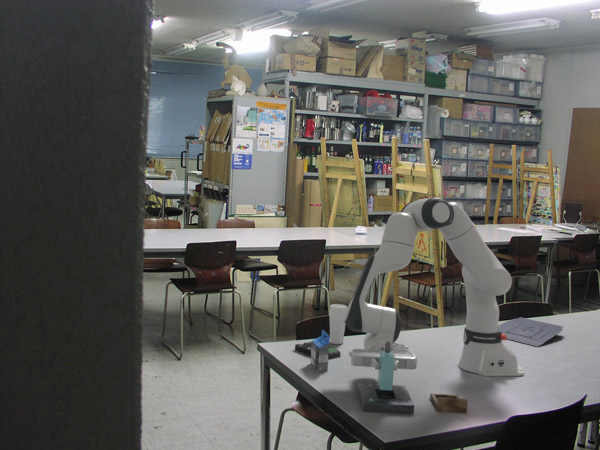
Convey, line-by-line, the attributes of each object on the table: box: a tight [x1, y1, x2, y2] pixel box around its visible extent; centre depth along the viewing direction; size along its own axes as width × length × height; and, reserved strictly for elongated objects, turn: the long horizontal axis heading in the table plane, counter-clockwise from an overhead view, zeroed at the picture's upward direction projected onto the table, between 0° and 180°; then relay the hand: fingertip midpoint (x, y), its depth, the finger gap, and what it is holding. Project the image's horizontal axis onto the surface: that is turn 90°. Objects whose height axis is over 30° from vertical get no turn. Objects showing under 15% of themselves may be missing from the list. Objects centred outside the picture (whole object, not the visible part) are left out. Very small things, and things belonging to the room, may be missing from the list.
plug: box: [377, 342, 395, 390], centre depth 187 cm, size 4×6×14 cm, turn 0°
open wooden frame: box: [429, 392, 469, 414], centre depth 188 cm, size 8×11×4 cm
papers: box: [498, 316, 564, 347], centre depth 276 cm, size 24×30×4 cm
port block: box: [358, 383, 415, 415], centre depth 188 cm, size 14×16×3 cm
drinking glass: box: [329, 303, 348, 345], centre depth 248 cm, size 7×7×15 cm
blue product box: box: [310, 329, 330, 372], centre depth 217 cm, size 9×4×12 cm, turn 16°
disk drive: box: [294, 341, 341, 360], centre depth 234 cm, size 10×3×15 cm
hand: (386, 367), depth 187 cm, fingers closed on plug, 3 cm apart
